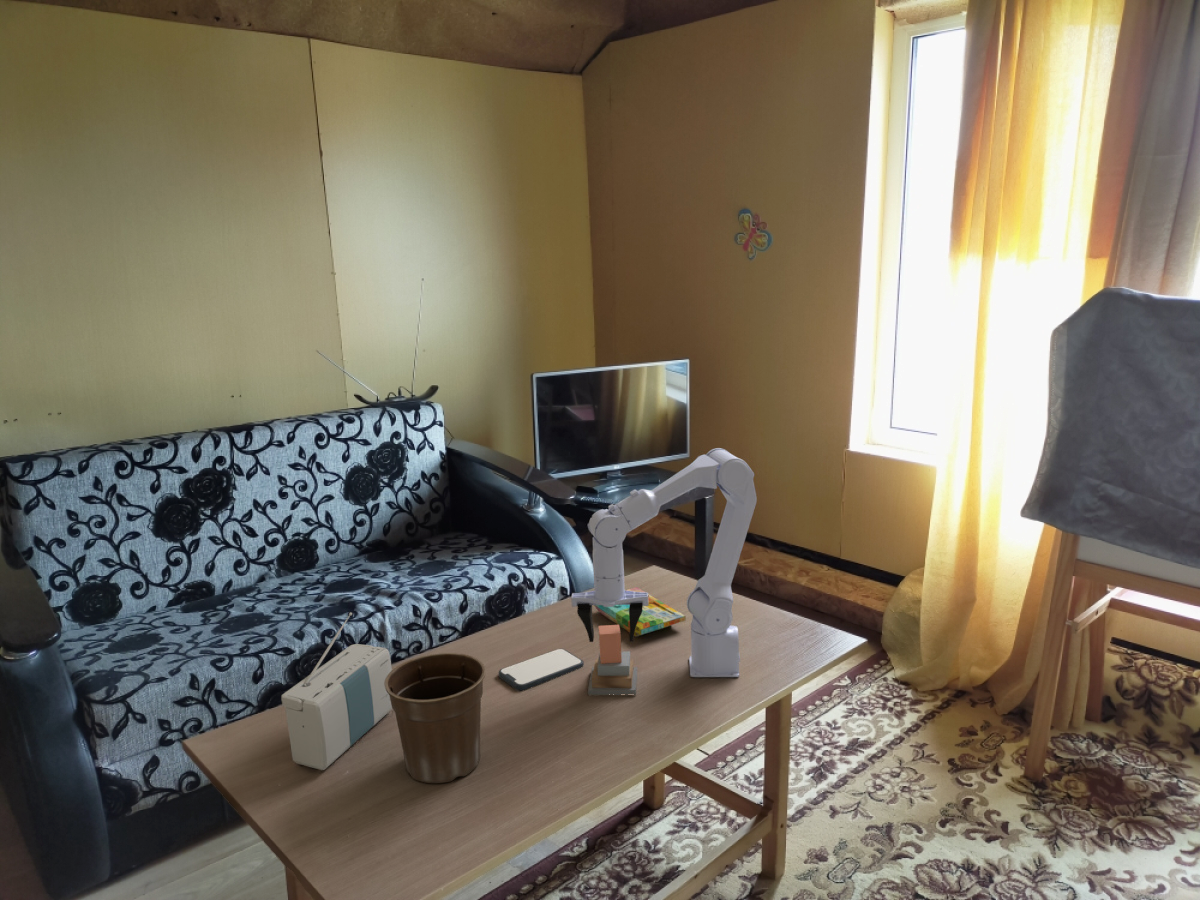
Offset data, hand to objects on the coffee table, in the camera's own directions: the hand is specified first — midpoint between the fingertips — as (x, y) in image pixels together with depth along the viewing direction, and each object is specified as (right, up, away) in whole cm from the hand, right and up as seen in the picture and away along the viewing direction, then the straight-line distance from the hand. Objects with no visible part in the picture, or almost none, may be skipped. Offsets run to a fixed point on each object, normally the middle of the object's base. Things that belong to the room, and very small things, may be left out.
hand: (611, 639), depth 162 cm
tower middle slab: (0, -8, +2) cm, 8 cm away
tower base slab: (0, -10, +2) cm, 10 cm away
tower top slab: (+1, -6, +2) cm, 6 cm away
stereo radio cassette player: (-47, -15, -12) cm, 51 cm away
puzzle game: (+6, -3, +29) cm, 30 cm away
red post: (0, -4, +1) cm, 4 cm away
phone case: (-14, -9, +9) cm, 19 cm away
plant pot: (-28, -16, -21) cm, 39 cm away
